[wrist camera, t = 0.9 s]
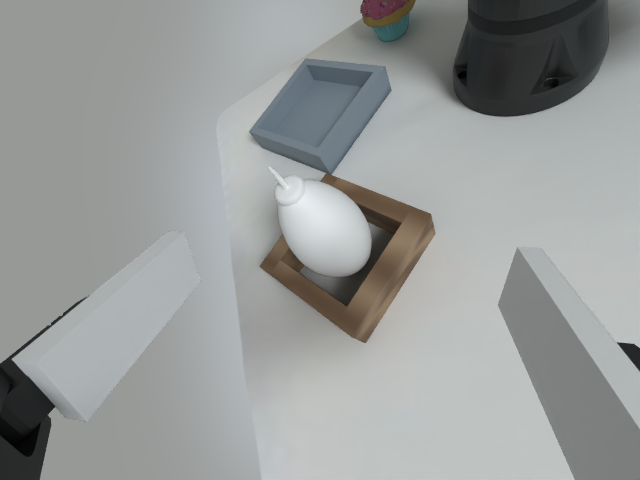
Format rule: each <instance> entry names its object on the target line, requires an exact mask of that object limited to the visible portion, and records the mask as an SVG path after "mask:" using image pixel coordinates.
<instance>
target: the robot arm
mask: <svg viewBox="0 0 640 480" xmlns="http://www.w3.org/2000/svg"><path fill="white" fill-rule="evenodd" d="M608 43H609V24H608V4H607V0H468V20H467V23H466V26H465V30H464V33H463V36H462V39H461V42H460V45H459V48H458V52H457V55H456V58H455V61H454V67H453V79H454V89H455V92H456V94H457V96H458V98H459V99H460V100H461V101H462V102H463V103H464V104H465V105H466V106H468V107H470V108H472V109H473V110H476V111H478V112H481V113H485V114H490V115H498V116H515V115H524V114H530V113H535V112H539V111H542V110H545V109H548V108H551V107H554V106H556V105H558V104H561V103H563V102H565V101H567V100H568V99H570V98H572V97H573V96H575V95H576V94H578V93H579V92H580V91H582V90H583V89H584V88H585V87H586V86H587V85H588V84H589V83H590V82H591V81H592V80H593V79H594V77H595V76H596V74H597V73H598V71H599V69H600V66H601V64H602V61H603V59H604V56H605V54H606V51H607V48H608ZM200 282H201V280H200V276H199V273H198V270H197V267H196V264H195V261H194V259H193V256H192V253H191V250H190V247H189V244H188V241H187V238H186V235H185V232H179V231H168V232H167V233H166V234H165V235H163V236H162V237H161V238H160V239H158V241H156V242H155V243H154V244H152V245H151V246H150V247H149V248H148V249H146V250H145V251H144V252H143V253H141V254H140V255H139V256H138V257H136V258H135V259H134V260H133V261H131V262H130V263H129V264H128V265H127V266H125V267H124V268H123V269H122V270H120V271H119V272H118V273H117V274H116V275H114V276H113V277H112V278H111V279H110V280H108V281H107V282H106V283H104V284H103V285H102V286H101V287H100V288H98V289H97V290H96V291H95V292H94V293H92V294H91V295H89V296H88V297H86V298H84V299H82V300H80V301H79V302H77V303H76V304H74V305H73V306H72V307H71V308H69V309H68V310H67V311H66V312H64V313H63V316H59V317H58V318H57V319H56V320H54V321H53V322H52V323H51V325H50V326H47V327H46V328H44V329H43V330H42V331H41V332H40V333H38V334H37V335H36V336H34V337H33V338H32V339H31V340H29V341H28V342H27V343H26V344H24V345H23V346H22V347H21V348H20V349H18V350H17V351H16V352H15V353H13V354H12V355H11V356H10V357H8V358H7V359H6V360H5V361H3V362H2V363H0V480H40V475H41V470H42V466H43V461H44V456H45V451H46V447H47V442H48V437H49V433H50V428H51V418H50V417H49V416H48V414H49V413H50V412H51V411H52V410H53V408H54V407H56V408H57V409H58V410H59V411H60V413H62V414H63V416H64V417H65V418H69V419H74V420H79V421H84V422H87V421H88V419H89V418H90V417H91V416H92V415H93V413H94V412H95V411H96V410H97V408H98V407H99V406H100V405H101V403H102V402H103V401H104V400H105V399H106V397H107V396H108V395H109V394H110V392H111V391H112V390H113V389H114V387H115V386H116V385H117V384H118V383H119V381H120V380H121V379H122V378H123V377H124V375H125V374H126V373H127V372H128V370H129V369H130V368H131V367H132V365H133V364H134V363H135V362H136V360H137V359H138V358H139V357H140V356H141V354H142V353H143V352H144V351H145V350H146V348H147V347H148V346H149V345H150V343H151V342H152V341H153V340H154V338H155V337H156V336H157V335H158V334H159V332H160V331H161V330H162V329H163V327H164V326H165V325H166V324H167V322H168V321H169V320H170V319H171V318H172V316H173V315H174V314H175V313H176V311H177V310H178V309H179V308H180V306H181V305H182V304H183V303H184V302H185V300H186V299H187V298H188V297H189V296H190V294H191V293H192V292H193V291H194V289H195V288H196V287H197V285H198V284H199V283H200ZM498 306H499V309H500V311H501V313H502V315H503V318H504V320H505V322H506V324H507V327H508V329H509V331H510V333H511V336H512V338H513V340H514V343H515V345H516V347H517V349H518V352H519V354H520V356H521V358H522V361H523V363H524V365H525V367H526V370H527V372H528V374H529V377H530V379H531V381H532V383H533V386H534V388H535V390H536V392H537V395H538V397H539V399H540V402H541V404H542V406H543V408H544V411H545V413H546V415H547V417H548V420H549V422H550V424H551V426H552V429H553V431H554V433H555V436H556V438H557V440H558V442H559V445H560V447H561V449H562V451H563V454H564V456H565V458H566V460H567V463H568V465H569V467H570V470H571V472H572V474H573V476H574V479H575V480H640V348H639V347H637V346H636V345H635V344H629V343H618V342H616V341H615V340H614V339H613V337H612V336H611V335H610V334H609V332H608V331H607V330H606V329H605V327H604V326H603V325H602V324H601V322H600V321H599V320H598V319H597V317H596V316H595V315H594V314H593V312H592V311H591V310H590V308H589V307H588V306H587V305H586V303H585V302H584V301H583V300H582V298H581V297H580V296H579V295H578V293H577V292H576V291H575V290H574V288H573V287H572V286H571V285H570V283H569V282H568V281H567V279H566V278H565V277H564V276H563V274H562V273H561V272H560V271H559V269H558V268H557V267H556V266H555V264H554V263H553V262H552V261H551V259H550V258H549V257H548V256H547V254H546V253H545V252H544V251H543V249H542V248H526V247H517V250H516V253H515V255H514V258H513V261H512V264H511V267H510V270H509V273H508V276H507V279H506V282H505V285H504V288H503V291H502V294H501V297H500V300H499V303H498Z"/></svg>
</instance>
